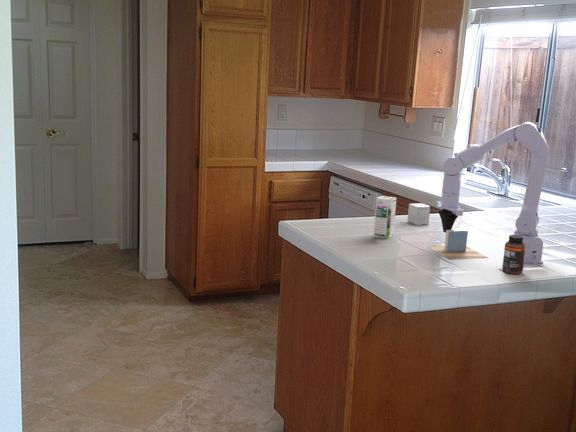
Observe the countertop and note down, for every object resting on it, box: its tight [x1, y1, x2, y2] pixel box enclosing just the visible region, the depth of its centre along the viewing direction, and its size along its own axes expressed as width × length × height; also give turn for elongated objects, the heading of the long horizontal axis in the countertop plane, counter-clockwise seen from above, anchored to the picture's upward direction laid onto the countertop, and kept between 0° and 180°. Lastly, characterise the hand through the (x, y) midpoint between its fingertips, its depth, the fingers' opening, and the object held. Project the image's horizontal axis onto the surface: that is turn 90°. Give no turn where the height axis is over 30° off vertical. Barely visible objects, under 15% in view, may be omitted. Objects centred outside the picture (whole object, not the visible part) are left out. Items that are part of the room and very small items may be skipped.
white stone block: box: [406, 203, 431, 226], centre depth 260 cm, size 6×6×7 cm
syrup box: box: [373, 195, 397, 239], centre depth 235 cm, size 6×6×14 cm
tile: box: [443, 228, 469, 252], centre depth 219 cm, size 2×7×7 cm, turn 106°
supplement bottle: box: [501, 234, 525, 275], centre depth 200 cm, size 6×6×11 cm
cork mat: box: [428, 245, 489, 260], centre depth 219 cm, size 15×14×1 cm
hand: (446, 232), depth 225 cm, fingers closed
